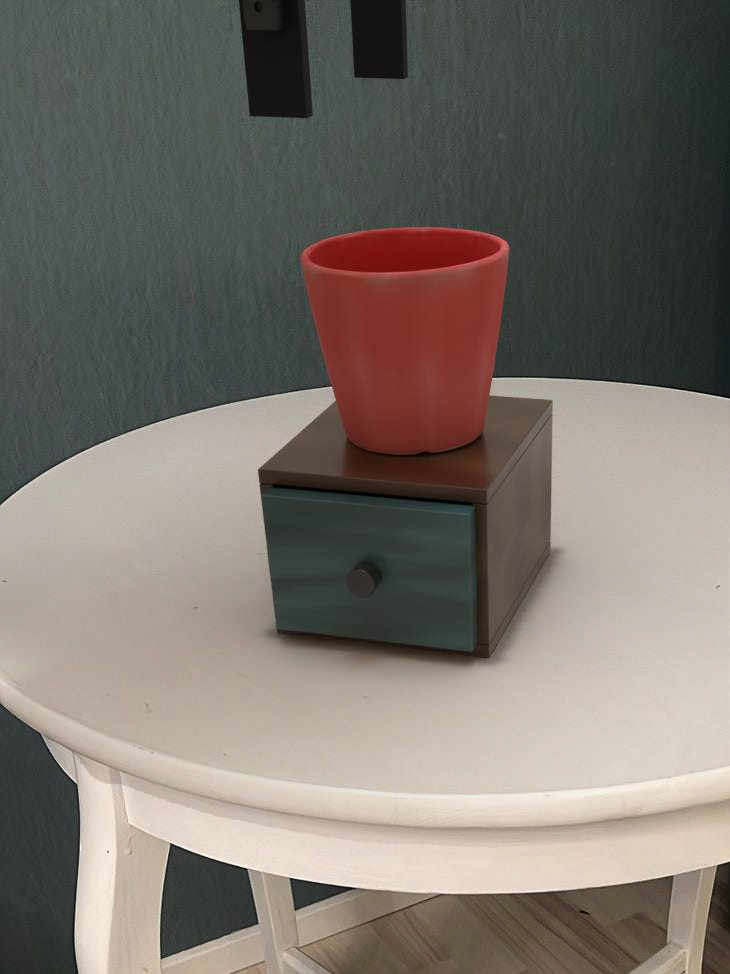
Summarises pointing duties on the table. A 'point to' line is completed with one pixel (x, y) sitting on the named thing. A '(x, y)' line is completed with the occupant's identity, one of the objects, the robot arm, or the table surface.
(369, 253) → the flower pot
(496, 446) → the cabinet
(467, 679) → the table surface
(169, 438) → the table surface
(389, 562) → the drawer
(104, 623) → the table surface
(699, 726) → the table surface
